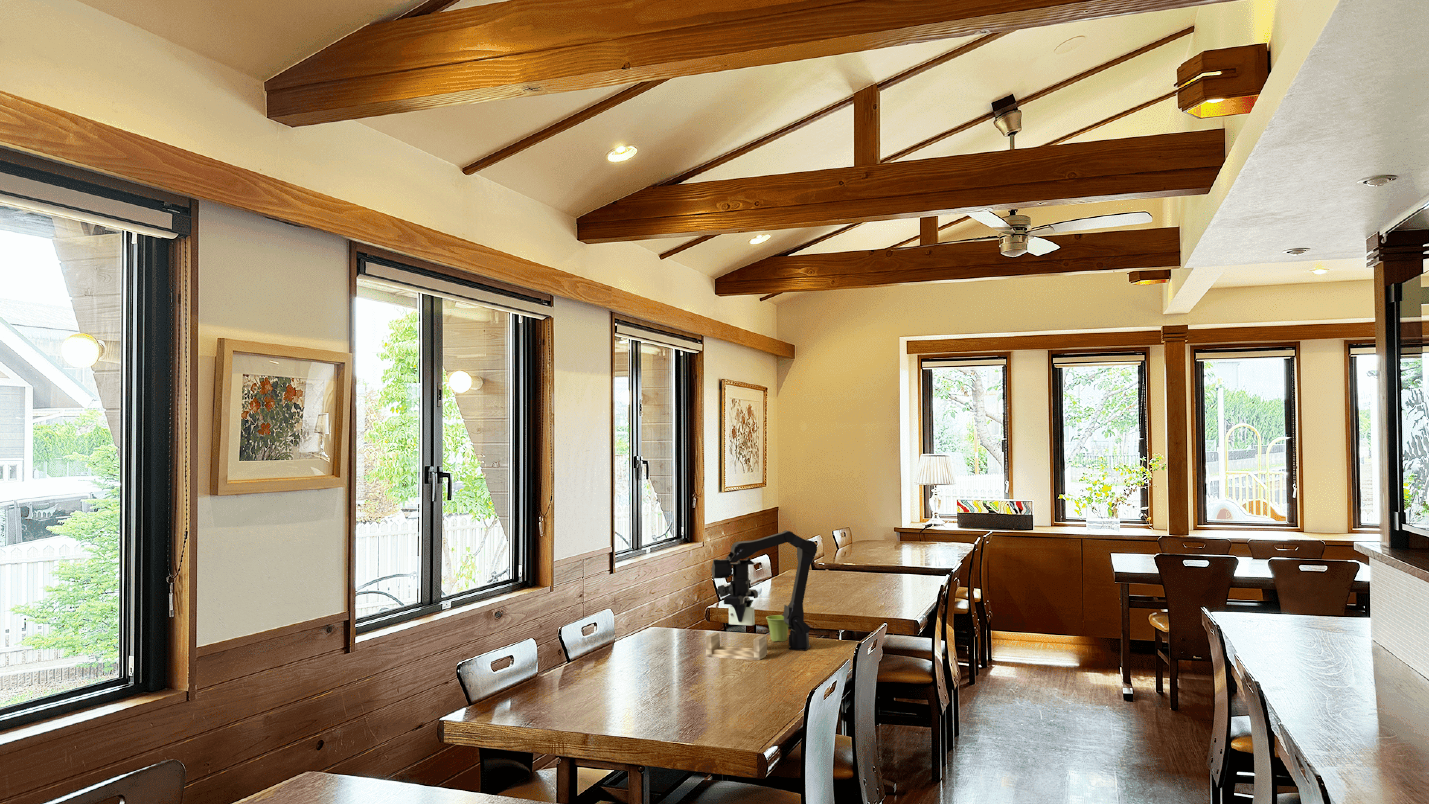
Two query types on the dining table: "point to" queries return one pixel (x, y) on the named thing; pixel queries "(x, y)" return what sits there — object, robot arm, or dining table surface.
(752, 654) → the wooden u-shaped holder
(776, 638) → the plant pot
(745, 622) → the pale green rectangular block
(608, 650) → the dining table surface
